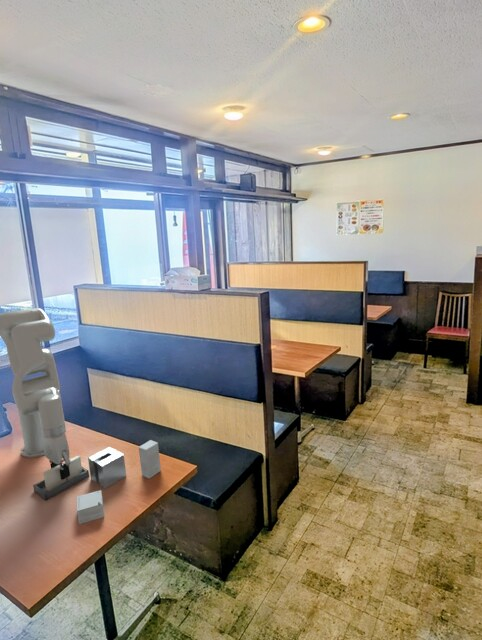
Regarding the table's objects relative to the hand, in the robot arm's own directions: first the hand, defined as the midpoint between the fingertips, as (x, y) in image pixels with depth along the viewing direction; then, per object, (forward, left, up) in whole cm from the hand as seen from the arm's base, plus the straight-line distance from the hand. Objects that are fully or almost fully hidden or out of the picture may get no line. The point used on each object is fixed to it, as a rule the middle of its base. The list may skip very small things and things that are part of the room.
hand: (60, 474), depth 142 cm
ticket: (0, +1, -3) cm, 4 cm away
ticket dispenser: (+11, +12, -4) cm, 17 cm away
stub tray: (0, 0, -4) cm, 4 cm away
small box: (+23, -2, -4) cm, 23 cm away
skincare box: (+22, +23, -4) cm, 32 cm away
